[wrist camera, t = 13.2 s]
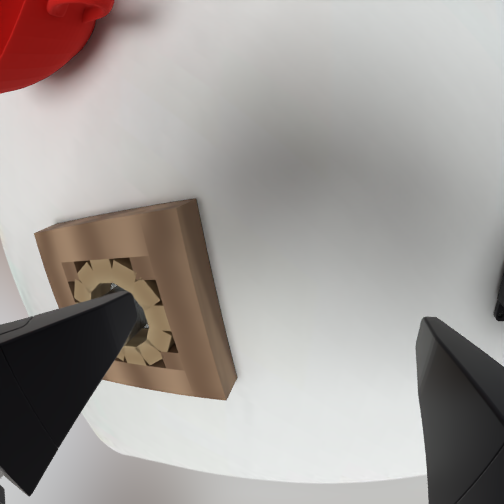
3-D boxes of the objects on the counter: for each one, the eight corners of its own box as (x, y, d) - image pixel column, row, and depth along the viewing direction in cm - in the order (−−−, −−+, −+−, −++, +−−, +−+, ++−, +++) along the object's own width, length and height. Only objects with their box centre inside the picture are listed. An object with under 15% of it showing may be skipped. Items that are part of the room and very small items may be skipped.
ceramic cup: (144, 102, 21) (38, 100, 12) (20, 92, 24) (-59, 100, 15) (187, -47, 16) (110, -105, 7) (49, -20, 18) (-24, -35, 9)
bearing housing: (196, 198, 23) (176, 208, 20) (237, 377, 28) (226, 400, 25) (55, 224, 28) (33, 233, 25) (104, 361, 33) (89, 376, 30)
